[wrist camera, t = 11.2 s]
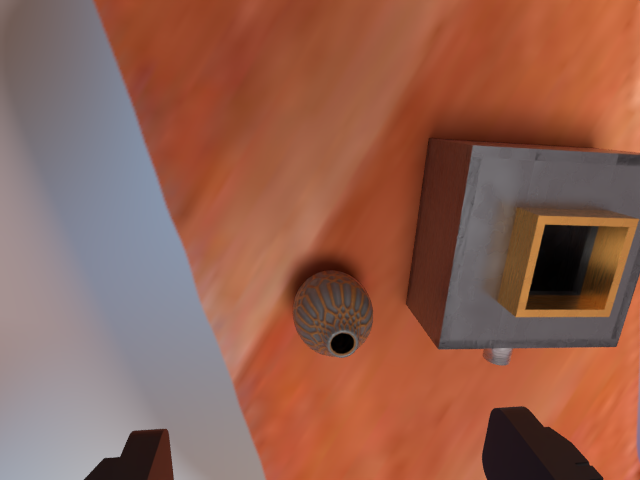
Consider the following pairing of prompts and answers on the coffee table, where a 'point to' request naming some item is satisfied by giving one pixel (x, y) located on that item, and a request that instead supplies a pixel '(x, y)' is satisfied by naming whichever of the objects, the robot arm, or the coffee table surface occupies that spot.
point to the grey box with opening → (525, 246)
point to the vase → (333, 313)
